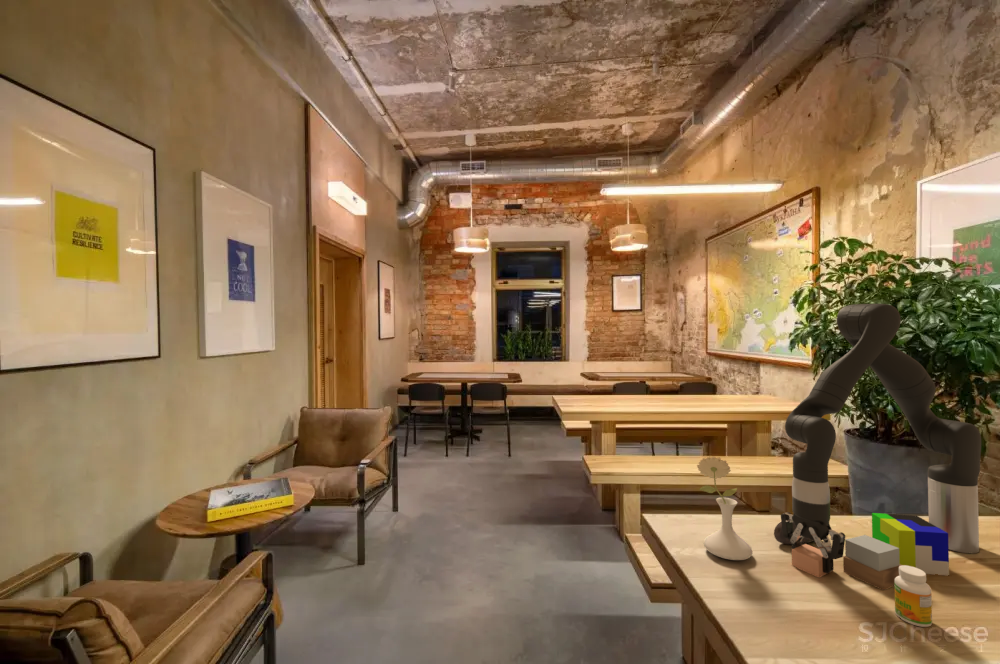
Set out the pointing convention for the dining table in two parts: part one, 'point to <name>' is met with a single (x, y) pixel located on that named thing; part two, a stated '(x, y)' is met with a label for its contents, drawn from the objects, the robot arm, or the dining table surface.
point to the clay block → (808, 559)
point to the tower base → (871, 573)
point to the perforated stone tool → (780, 538)
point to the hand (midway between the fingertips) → (811, 564)
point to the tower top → (872, 552)
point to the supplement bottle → (913, 596)
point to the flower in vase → (723, 515)
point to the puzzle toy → (914, 541)
